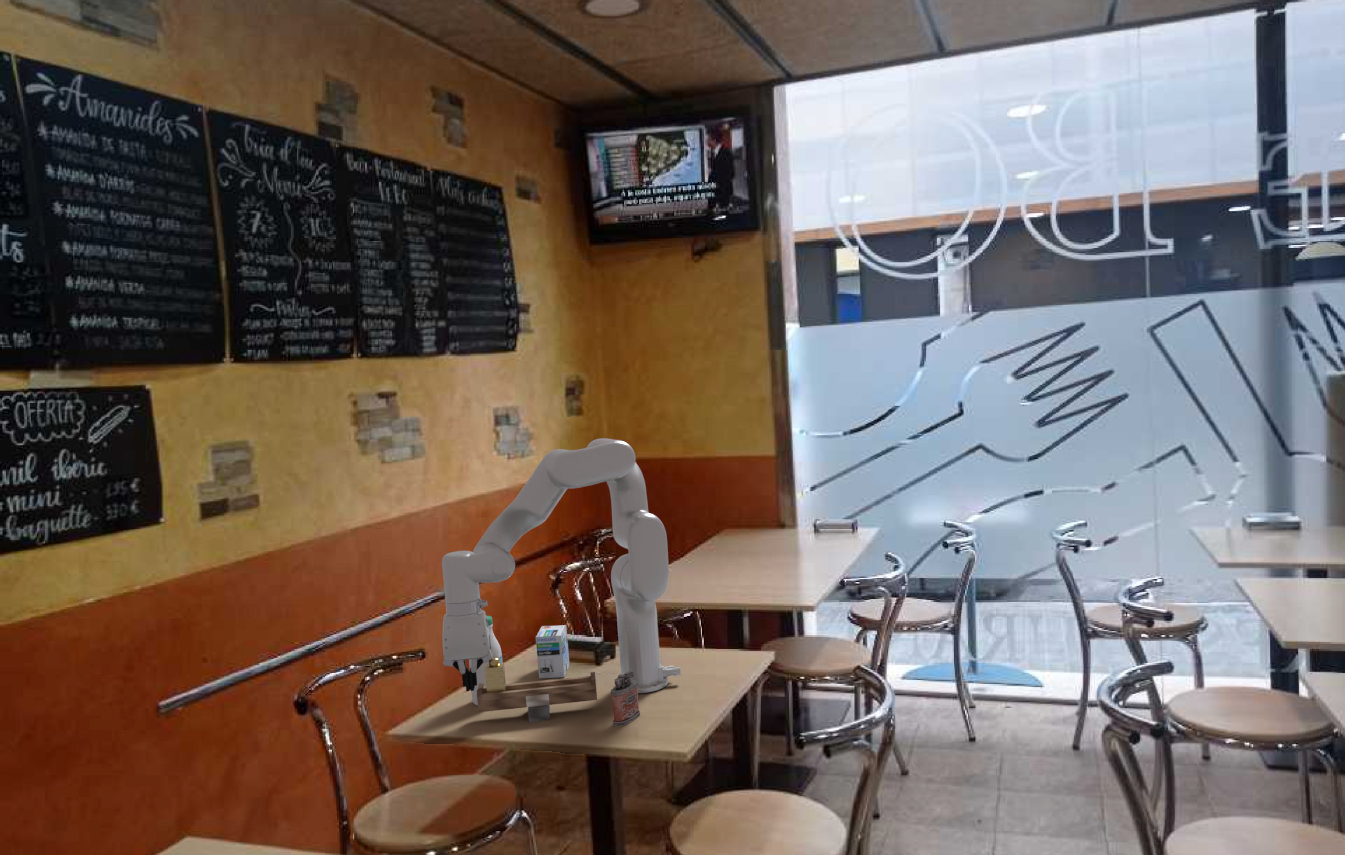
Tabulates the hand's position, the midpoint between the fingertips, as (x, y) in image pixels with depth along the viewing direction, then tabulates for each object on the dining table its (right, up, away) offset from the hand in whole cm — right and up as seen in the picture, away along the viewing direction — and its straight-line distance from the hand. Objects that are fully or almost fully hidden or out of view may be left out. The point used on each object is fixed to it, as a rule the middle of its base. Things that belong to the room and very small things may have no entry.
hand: (470, 689), depth 221 cm
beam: (+15, -6, +2) cm, 16 cm away
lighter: (+35, -6, -5) cm, 36 cm away
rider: (+6, -1, +1) cm, 6 cm away
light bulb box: (+15, -5, +33) cm, 36 cm away
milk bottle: (+2, -7, +14) cm, 15 cm away
